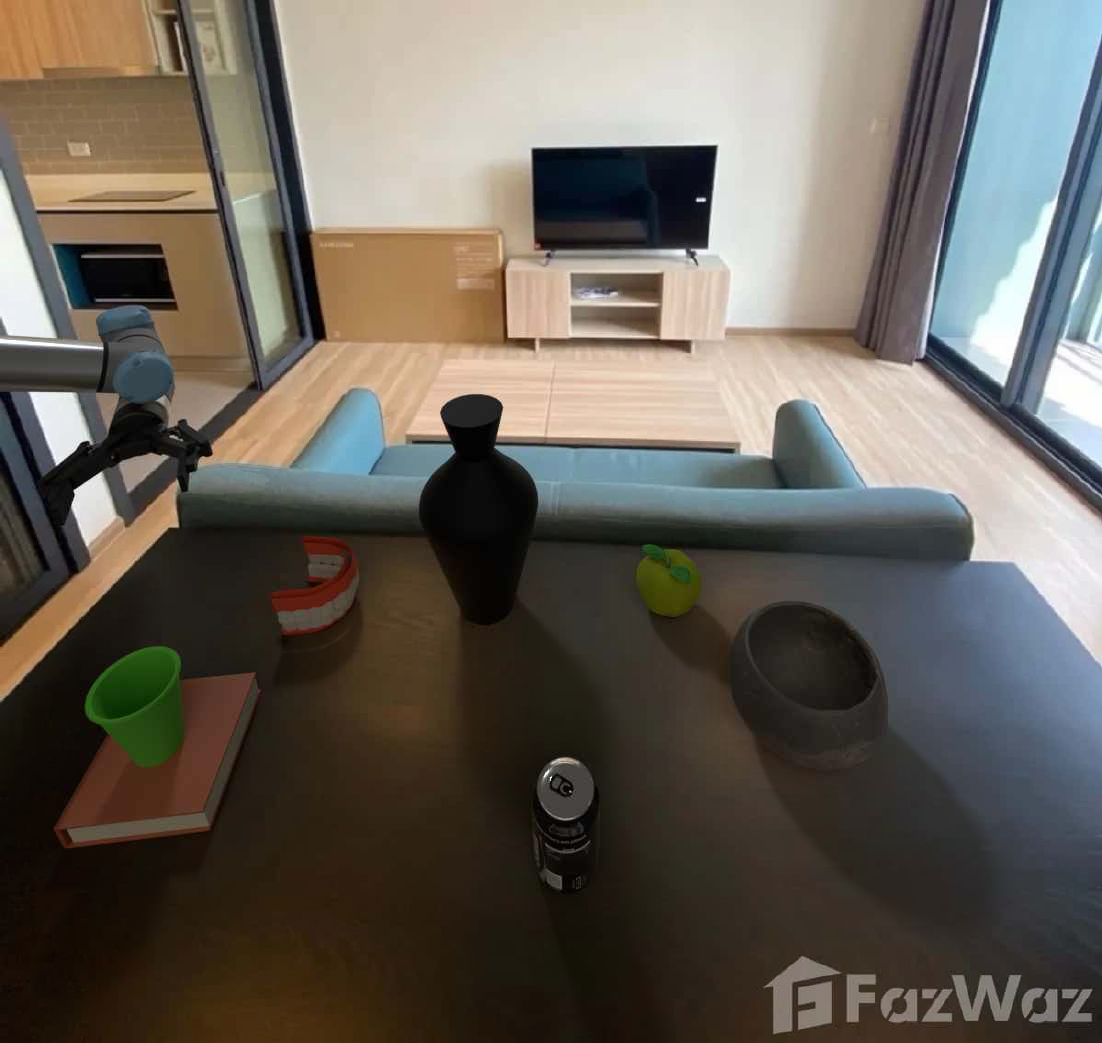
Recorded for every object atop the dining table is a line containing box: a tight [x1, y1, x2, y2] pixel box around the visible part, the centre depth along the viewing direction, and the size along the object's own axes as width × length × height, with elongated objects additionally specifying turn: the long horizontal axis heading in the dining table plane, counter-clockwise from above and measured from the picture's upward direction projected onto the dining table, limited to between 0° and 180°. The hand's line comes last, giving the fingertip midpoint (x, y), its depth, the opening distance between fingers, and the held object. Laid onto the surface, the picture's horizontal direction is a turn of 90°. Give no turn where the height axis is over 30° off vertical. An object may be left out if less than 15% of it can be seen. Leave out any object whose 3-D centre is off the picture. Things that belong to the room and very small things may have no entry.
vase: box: [418, 393, 539, 626], centre depth 86 cm, size 17×17×35 cm
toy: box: [269, 535, 360, 636], centre depth 91 cm, size 12×10×8 cm
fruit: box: [635, 543, 702, 618], centre depth 89 cm, size 9×9×10 cm
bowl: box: [727, 600, 889, 771], centre depth 73 cm, size 18×18×13 cm
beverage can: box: [530, 756, 601, 895], centre depth 60 cm, size 7×7×12 cm
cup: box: [84, 645, 184, 767], centre depth 68 cm, size 9×9×11 cm
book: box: [53, 671, 262, 850], centre depth 71 cm, size 15×16×4 cm
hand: (122, 500), depth 77 cm, fingers open, 13 cm apart
